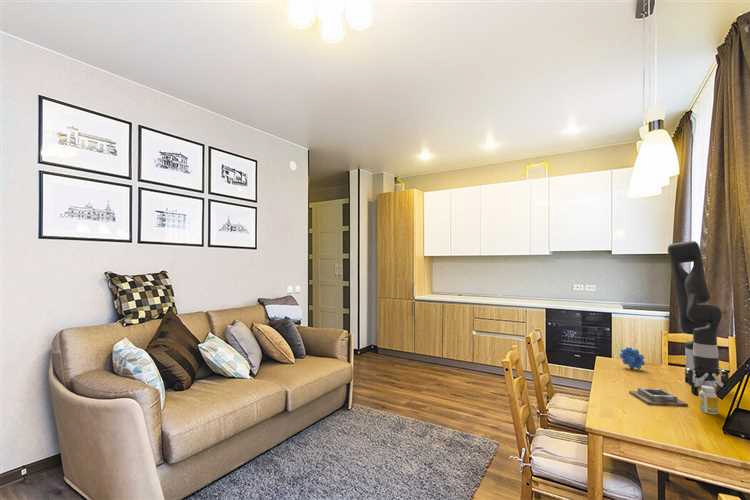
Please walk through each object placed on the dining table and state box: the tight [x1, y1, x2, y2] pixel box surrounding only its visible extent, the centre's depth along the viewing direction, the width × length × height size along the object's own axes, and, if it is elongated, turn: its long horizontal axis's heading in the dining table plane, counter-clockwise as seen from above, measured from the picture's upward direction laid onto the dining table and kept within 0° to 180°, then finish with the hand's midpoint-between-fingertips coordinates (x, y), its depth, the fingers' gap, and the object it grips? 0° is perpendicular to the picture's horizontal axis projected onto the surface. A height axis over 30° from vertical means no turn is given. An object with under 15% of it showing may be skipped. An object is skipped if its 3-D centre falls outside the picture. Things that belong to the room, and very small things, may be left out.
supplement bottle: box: [698, 386, 719, 415], centre depth 143 cm, size 6×5×10 cm
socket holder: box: [628, 387, 689, 407], centre depth 156 cm, size 15×14×3 cm
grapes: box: [619, 346, 646, 370], centre depth 202 cm, size 12×7×12 cm, turn 52°
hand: (707, 396), depth 143 cm, fingers open, 8 cm apart
